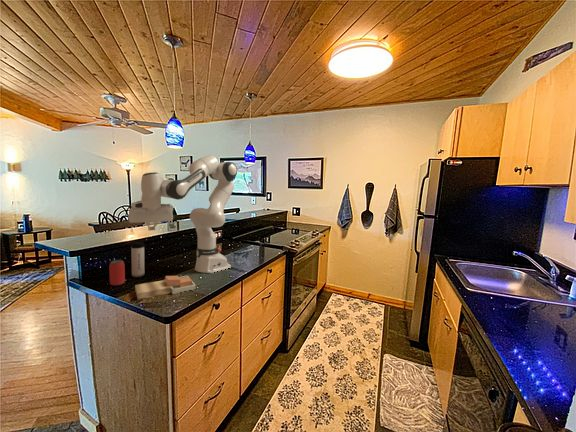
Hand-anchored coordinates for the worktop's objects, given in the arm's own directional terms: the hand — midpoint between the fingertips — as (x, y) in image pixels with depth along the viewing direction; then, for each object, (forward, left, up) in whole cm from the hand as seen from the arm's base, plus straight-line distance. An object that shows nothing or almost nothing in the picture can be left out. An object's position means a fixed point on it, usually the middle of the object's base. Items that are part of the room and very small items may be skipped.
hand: (151, 230), depth 127 cm
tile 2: (-13, +12, -28) cm, 34 cm away
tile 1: (-7, +12, -26) cm, 30 cm away
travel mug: (+5, -16, -29) cm, 34 cm away
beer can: (+15, -8, -29) cm, 34 cm away
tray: (-11, +12, -29) cm, 33 cm away
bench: (+2, +12, -29) cm, 31 cm away
